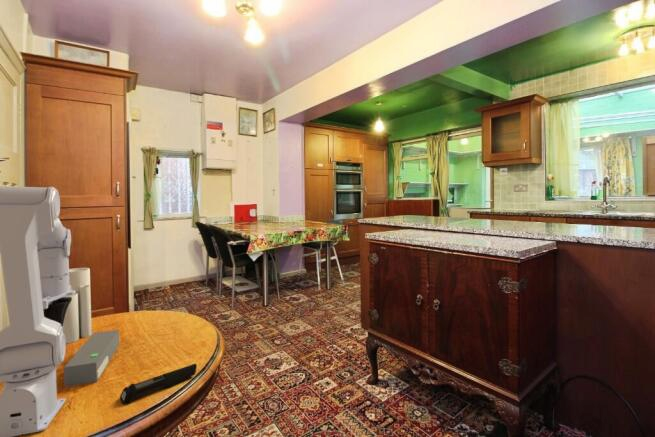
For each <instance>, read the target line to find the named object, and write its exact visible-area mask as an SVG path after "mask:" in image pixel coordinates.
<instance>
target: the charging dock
mask: <svg viewBox="0 0 655 437" xmlns="http://www.w3.org/2000/svg"><path fill="white" fill-rule="evenodd" d="M119 346H120V330H119V329H114V330H105V331H104V330H103V331H97V332H93V333H91V336H89V338H88V339H87V340H86V341H85V342H84V344H83V345H82V346H81V347H80V348H79V349H78V350H77V352H76V353H75V354H74V355H73V356H72V357H71V358H70V360H69V361H68V362H67V363H66V364H65V366H64V367H63V373H64V374H63V375H64V376H63V377H64V381H63V382H64V387H65V388H67V387H72V386H78V385H85V384H92V383H98V380H99V379H100V377H101V376H102V374H103V373H104V371H105V369H106V367H107V366H108V364H109V362H110V361H111V359H112V358H113V356H114V354H115V352H116V351H117V349H118V348H119Z"/></svg>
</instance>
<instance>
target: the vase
mask: <svg viewBox="0 0 655 437" xmlns="http://www.w3.org/2000/svg"><path fill="white" fill-rule="evenodd" d="M69 285H71V290H75V294H73V295H68V296H65V297H71V298H72V300H71V302H70V304H69V306H68V308H67V311H66V314H65V318H64V322H63V326H62V328H63V334H64V335H65V341H66V344H71V343H75V342H77V341H79V339H80V338H88V337H89V338H90V337H91V335H92V303H91V302H92V301H91V300H92V298H91V297H92V296H91V269H90V268H89V267H78V268H77V267H76V268H69ZM65 297H64V298H65Z"/></svg>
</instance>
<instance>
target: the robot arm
mask: <svg viewBox="0 0 655 437" xmlns="http://www.w3.org/2000/svg"><path fill="white" fill-rule="evenodd" d="M60 213H61V197H60V194H59V190H58V189H57V188H56V187H55V186H49V187H45V186H44V187H39V186H38V187H37V186H4V185H3V186H2V185H1V186H0V259H1V260H0V261H1V269H2V277H3V285H4V290H5V291H4V292H5V301H6V307H7V314H8V322H9V323H8V324H9V325H7V326H6V327H5V328H3V329H1V330H0V383H3V388H2V391H1V393H0V437H18V436H23V435H28V434H32V433H37V432H41V431H45V430H46V429H47V428H48V427H49V425H50V423H52V421H53V420H54V418H55V416H56V415H57V414H58V412H59V411H60V409H61V408H62V407H63V405H64V404H65V403H66V401H67V398H65V397H64V398H63V397H62V398H58V393H57V392H58V390H57V366H59V365H61V364H62V363H63V362H64V360H65V356H66V347H67V346H66V341H65V335H64V334H63V328H62V326H63V322H64V318H65V314H66V311H67V308H68V306H69V304H70V302H71V300H72V298H71V297H65V296H68V295H73V294H75V290H71V285H69V269H70V263H69V262H70V261H69V256H70V255H71V244H72V233H71V229H70V228H66V227H65V226H63V224H62V222H61V220H60V218H59V216H60ZM64 297H65V298H64ZM22 434H23V435H22Z"/></svg>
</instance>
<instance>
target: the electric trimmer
mask: <svg viewBox="0 0 655 437" xmlns="http://www.w3.org/2000/svg"><path fill="white" fill-rule="evenodd" d="M197 367H198V366H197V363H192V364H190V365H186V366H184V367H181V368H178V369H175V370H172V371H169V372H165V373H163V374H161V375H158V376H154V377H152V378H149V379H145V380H143V381H140V382H137V383H130V385H128V386H125V387H124V388H123V390H122V391H121V394H120V396H119V400H120V402H121V404H122V405H128V404H130V403H131V402H132V401H133V400H135V399H138V398H140V397H143V396H145V395H147V394H151V393H152V392H155V391H158V390H161V389H162V388H170V387H173V386H175V385H177V384H179V383H181V382H182V381H185V380H186V379H189V378H191V377H193V376H194V375H195V374H196V372H197Z"/></svg>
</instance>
